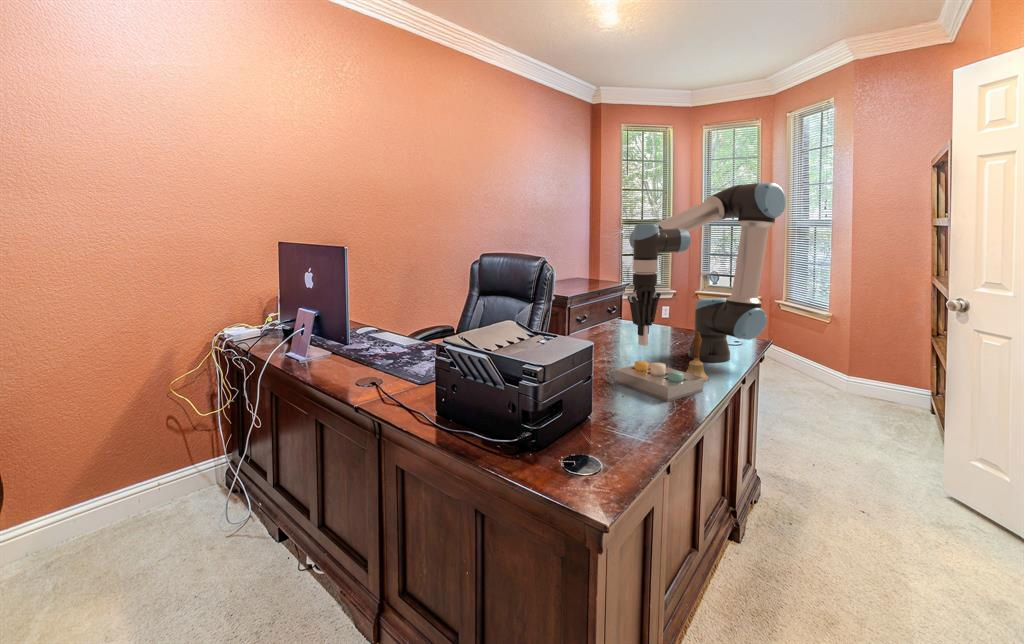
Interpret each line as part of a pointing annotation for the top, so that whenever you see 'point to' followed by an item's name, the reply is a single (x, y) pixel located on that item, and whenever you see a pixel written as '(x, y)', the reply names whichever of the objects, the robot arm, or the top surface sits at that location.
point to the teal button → (675, 376)
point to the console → (658, 383)
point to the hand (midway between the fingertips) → (642, 344)
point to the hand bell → (697, 359)
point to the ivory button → (658, 369)
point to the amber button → (641, 366)
